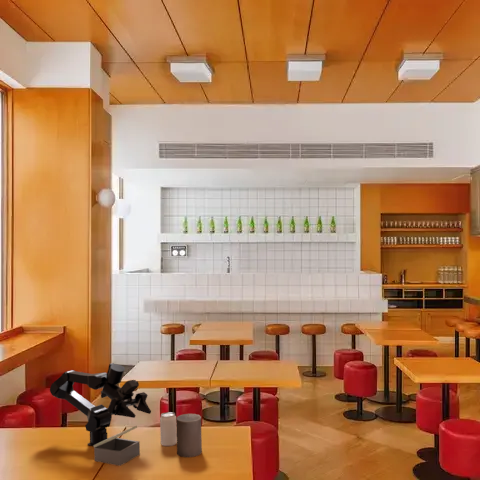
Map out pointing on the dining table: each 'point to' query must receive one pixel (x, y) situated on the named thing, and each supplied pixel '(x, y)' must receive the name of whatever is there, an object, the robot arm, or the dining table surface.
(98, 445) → the lid
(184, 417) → the pillar candle
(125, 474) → the dining table surface
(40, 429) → the dining table surface
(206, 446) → the dining table surface
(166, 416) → the can
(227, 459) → the dining table surface
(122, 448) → the storage box
